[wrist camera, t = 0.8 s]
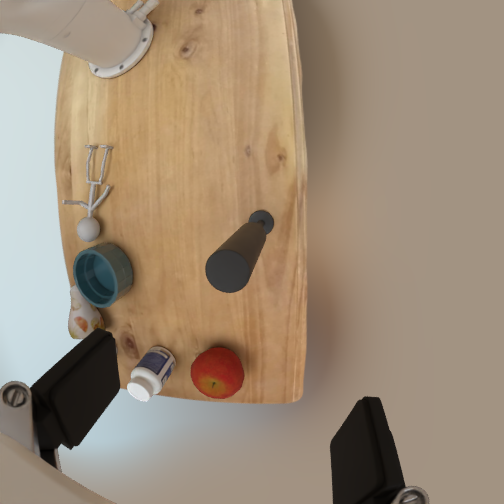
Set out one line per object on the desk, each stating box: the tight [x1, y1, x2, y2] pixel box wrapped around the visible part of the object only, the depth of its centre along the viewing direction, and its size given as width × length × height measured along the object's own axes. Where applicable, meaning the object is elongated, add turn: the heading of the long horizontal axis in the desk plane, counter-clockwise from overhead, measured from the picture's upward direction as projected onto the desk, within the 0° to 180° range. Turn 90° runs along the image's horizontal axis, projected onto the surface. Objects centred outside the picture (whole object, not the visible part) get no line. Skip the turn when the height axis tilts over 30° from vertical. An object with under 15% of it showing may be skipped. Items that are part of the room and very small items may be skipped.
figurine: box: [62, 145, 113, 242], centre depth 35 cm, size 6×6×15 cm
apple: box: [191, 347, 244, 399], centre depth 38 cm, size 8×8×8 cm
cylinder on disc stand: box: [205, 211, 274, 293], centre depth 26 cm, size 3×3×20 cm
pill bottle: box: [127, 346, 176, 402], centre depth 39 cm, size 5×5×10 cm
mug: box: [68, 285, 105, 339], centre depth 41 cm, size 8×10×10 cm
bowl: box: [73, 243, 133, 308], centre depth 38 cm, size 9×9×5 cm
